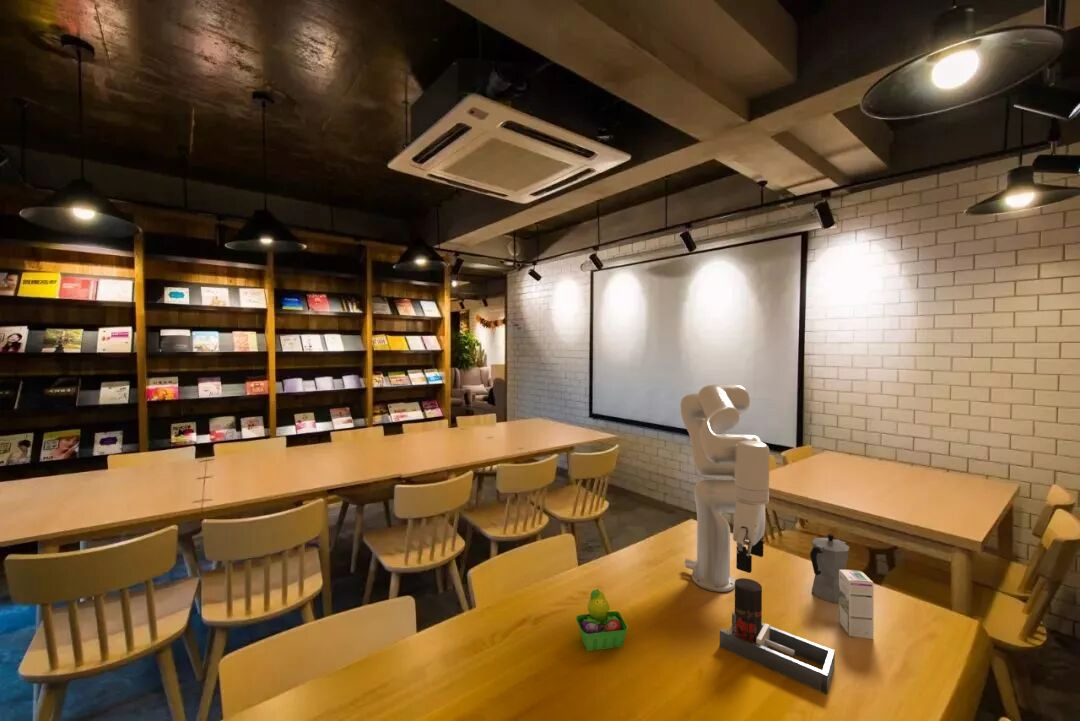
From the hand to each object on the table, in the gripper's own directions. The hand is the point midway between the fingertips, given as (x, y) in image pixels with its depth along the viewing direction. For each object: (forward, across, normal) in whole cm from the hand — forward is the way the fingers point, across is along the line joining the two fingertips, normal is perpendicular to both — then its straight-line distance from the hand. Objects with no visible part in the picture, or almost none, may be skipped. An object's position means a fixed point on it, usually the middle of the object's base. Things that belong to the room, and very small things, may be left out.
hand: (750, 562), depth 106 cm
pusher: (+20, +1, +6) cm, 21 cm away
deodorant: (+21, 0, 0) cm, 21 cm away
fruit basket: (+21, +23, -28) cm, 42 cm away
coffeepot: (+21, -37, +11) cm, 44 cm away
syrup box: (+21, -23, +19) cm, 37 cm away
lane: (+20, +1, +6) cm, 21 cm away
